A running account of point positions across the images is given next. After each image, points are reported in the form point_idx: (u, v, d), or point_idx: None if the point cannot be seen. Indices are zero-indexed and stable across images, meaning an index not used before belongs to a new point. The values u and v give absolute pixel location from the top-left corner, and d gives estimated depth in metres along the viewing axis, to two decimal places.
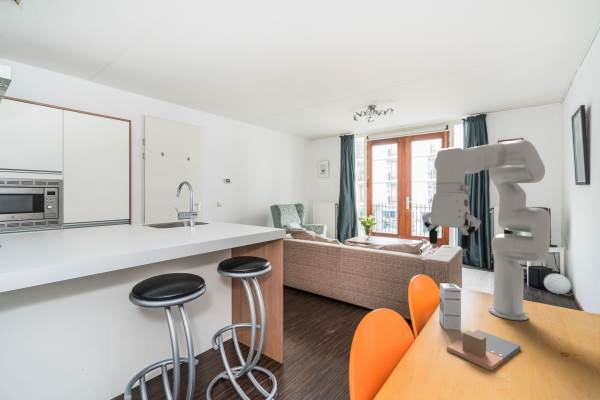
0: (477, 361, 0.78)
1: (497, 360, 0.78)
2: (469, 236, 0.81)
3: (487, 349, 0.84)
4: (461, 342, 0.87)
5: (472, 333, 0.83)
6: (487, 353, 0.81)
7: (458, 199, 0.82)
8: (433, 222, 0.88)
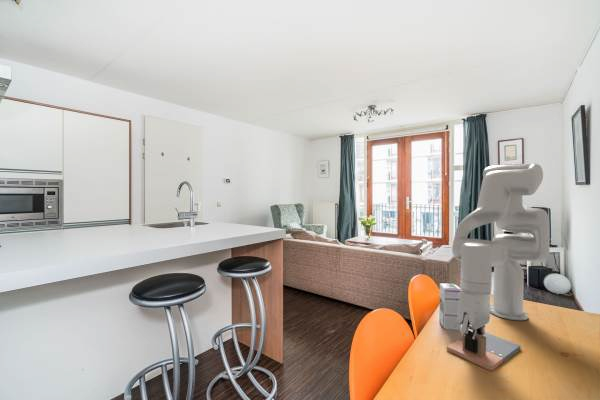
0: (477, 361, 0.78)
1: (497, 360, 0.78)
2: None
3: (487, 349, 0.84)
4: (461, 342, 0.87)
5: None
6: (487, 353, 0.81)
7: None
8: (476, 327, 0.78)
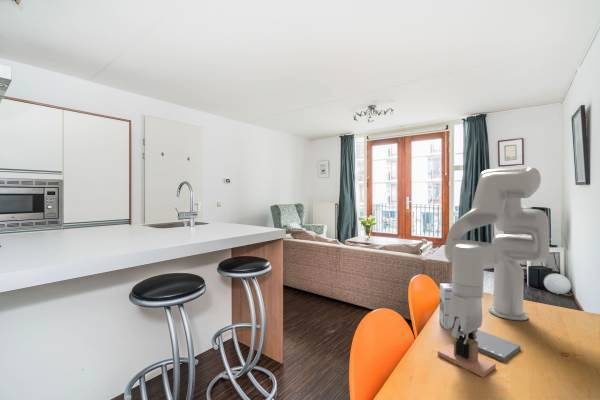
0: (468, 367, 0.75)
1: (489, 366, 0.75)
2: None
3: (487, 349, 0.84)
4: (453, 347, 0.85)
5: None
6: (479, 358, 0.79)
7: (481, 299, 0.79)
8: (467, 332, 0.75)
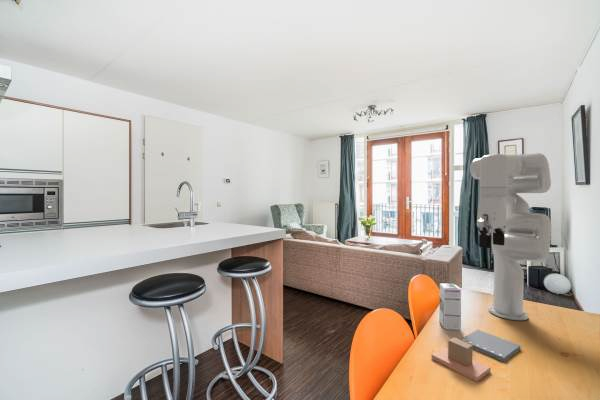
0: (462, 371, 0.73)
1: (484, 370, 0.73)
2: None
3: (487, 349, 0.84)
4: (447, 350, 0.83)
5: (458, 341, 0.78)
6: (474, 362, 0.77)
7: (505, 202, 0.92)
8: (494, 226, 0.88)
